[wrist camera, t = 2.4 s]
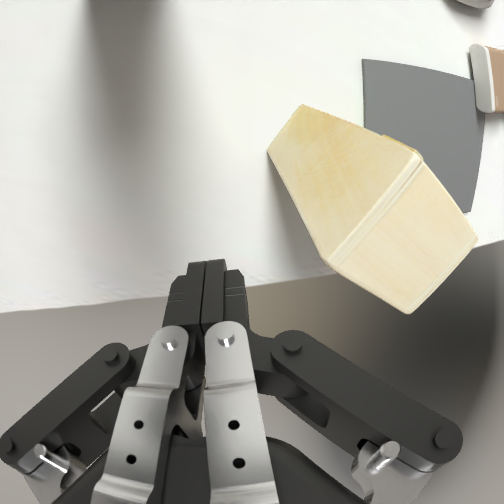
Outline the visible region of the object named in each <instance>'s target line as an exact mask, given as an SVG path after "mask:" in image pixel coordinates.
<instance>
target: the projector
mask: <svg viewBox="0 0 504 504" xmlns="http://www.w3.org/2000/svg"><path fill="white" fill-rule="evenodd" d="M457 1H459V2H461V3H464V4H466V5H469V6H472V7H475V8H480V9H485V8H489V7H491V5H492V4H493V2H494V0H457Z"/></svg>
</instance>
